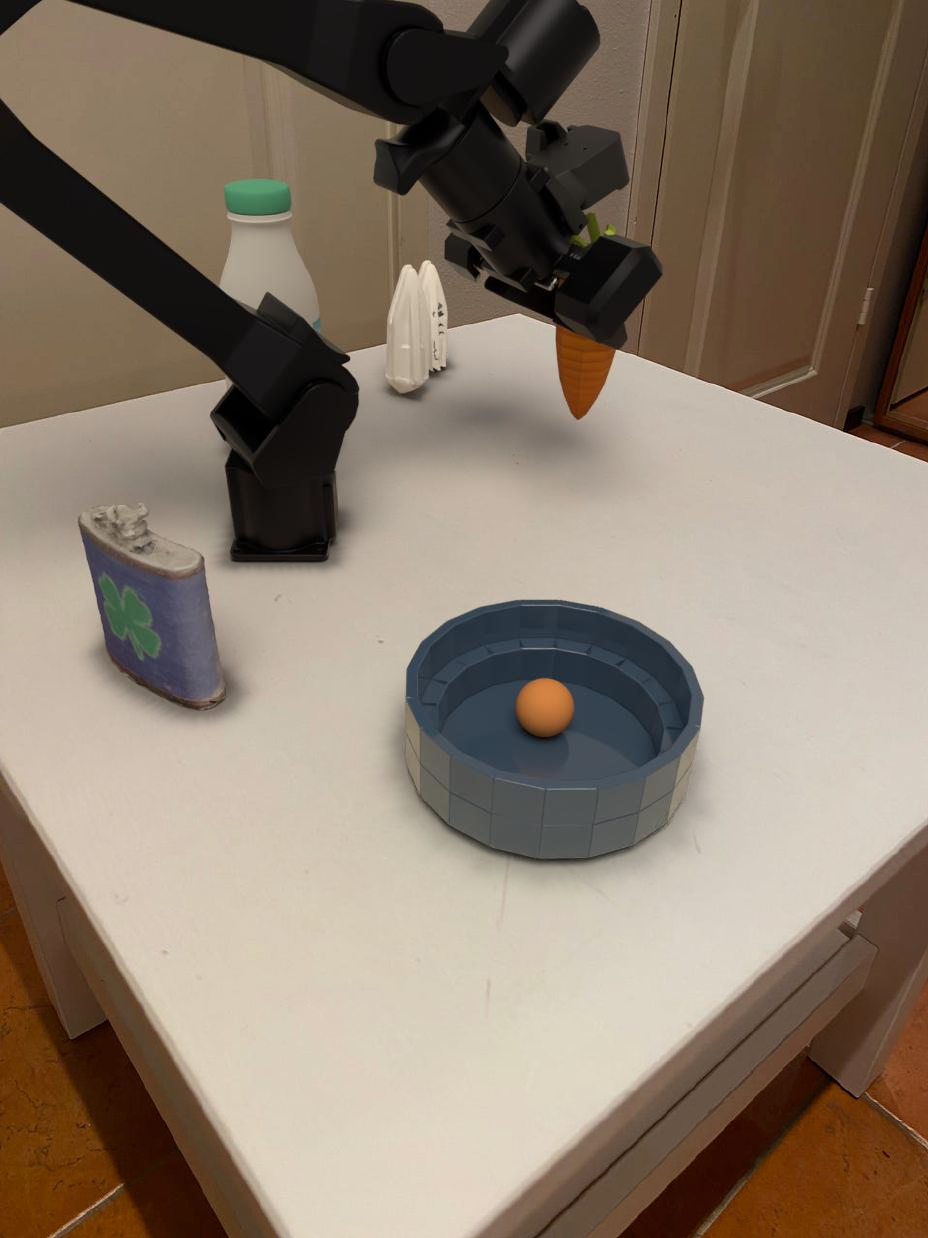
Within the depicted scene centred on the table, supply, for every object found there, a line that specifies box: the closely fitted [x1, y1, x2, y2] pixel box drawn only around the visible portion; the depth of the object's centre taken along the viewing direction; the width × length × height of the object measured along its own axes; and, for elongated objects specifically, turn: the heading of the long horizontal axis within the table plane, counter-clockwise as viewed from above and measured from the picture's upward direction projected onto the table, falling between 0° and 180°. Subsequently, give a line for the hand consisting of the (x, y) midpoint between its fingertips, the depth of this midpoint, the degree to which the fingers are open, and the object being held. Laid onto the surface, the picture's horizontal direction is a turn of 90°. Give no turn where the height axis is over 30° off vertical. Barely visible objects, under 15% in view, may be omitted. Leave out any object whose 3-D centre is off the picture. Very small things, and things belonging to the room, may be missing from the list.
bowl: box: [404, 599, 705, 859], centre depth 46 cm, size 14×14×5 cm
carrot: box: [555, 212, 617, 421], centre depth 69 cm, size 5×5×15 cm
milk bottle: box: [218, 178, 323, 391], centre depth 71 cm, size 8×8×20 cm
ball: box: [516, 678, 574, 737], centre depth 48 cm, size 3×3×3 cm
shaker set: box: [384, 259, 449, 394], centre depth 87 cm, size 12×4×11 cm, turn 167°
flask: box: [77, 502, 227, 711], centre depth 50 cm, size 9×3×11 cm, turn 51°
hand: (600, 334), depth 70 cm, fingers closed on carrot, 5 cm apart
